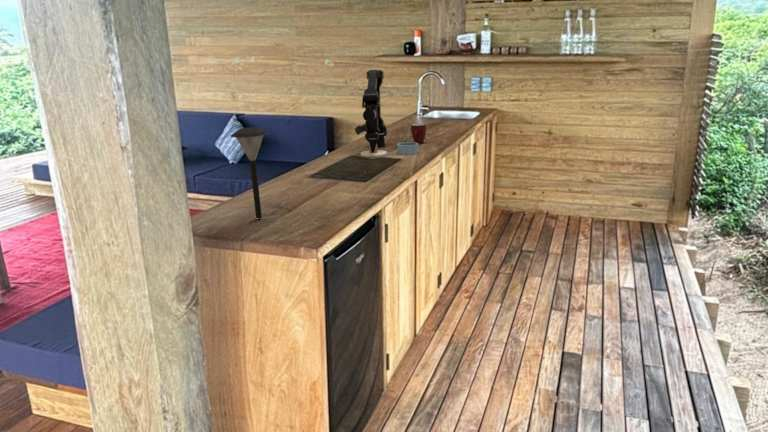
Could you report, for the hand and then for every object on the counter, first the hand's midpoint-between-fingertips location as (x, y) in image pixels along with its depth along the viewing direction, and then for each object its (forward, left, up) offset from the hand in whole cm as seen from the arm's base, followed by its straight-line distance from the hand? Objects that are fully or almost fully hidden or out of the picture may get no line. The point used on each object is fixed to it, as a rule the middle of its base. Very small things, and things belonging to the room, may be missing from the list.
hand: (373, 150), depth 295 cm
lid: (0, 0, -2) cm, 2 cm away
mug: (-4, +36, -3) cm, 36 cm away
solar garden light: (+50, -96, -3) cm, 108 cm away
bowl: (+12, +12, -2) cm, 17 cm away
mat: (0, 0, -2) cm, 2 cm away
